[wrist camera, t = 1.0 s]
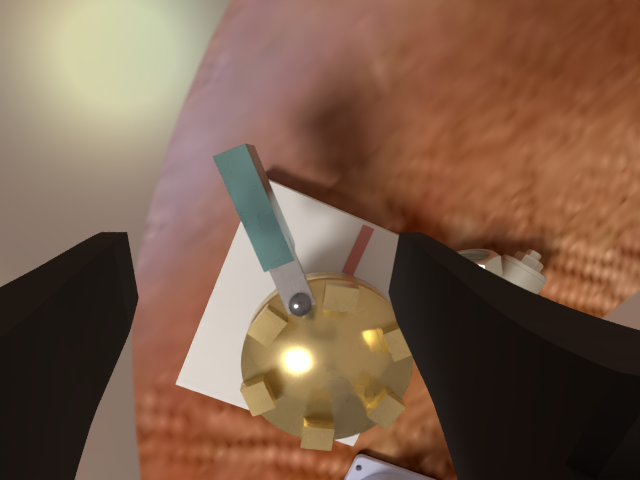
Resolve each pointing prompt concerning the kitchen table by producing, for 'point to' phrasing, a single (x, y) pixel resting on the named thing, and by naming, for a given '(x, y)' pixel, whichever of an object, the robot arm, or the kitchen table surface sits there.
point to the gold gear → (312, 330)
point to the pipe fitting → (511, 266)
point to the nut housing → (255, 285)
